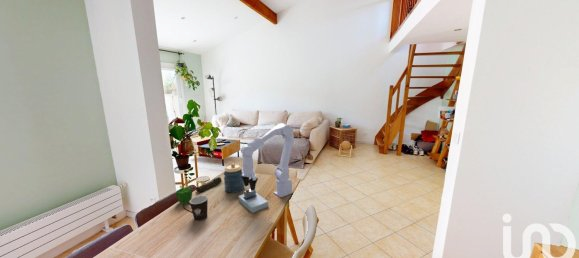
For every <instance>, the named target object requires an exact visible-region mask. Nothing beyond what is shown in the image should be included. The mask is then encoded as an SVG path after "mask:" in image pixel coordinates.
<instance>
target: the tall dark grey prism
mask: <svg viewBox="0 0 579 258" xmlns="http://www.w3.org/2000/svg"><path fill="white" fill-rule="evenodd" d="M256 193H257V192H256V189H255V190H253V191H251V189H250V188H249V189H247V190H244V191H243V194H244V199H245V200H248V199H251V198H254V197H256Z"/></svg>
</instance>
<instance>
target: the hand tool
mask: <svg viewBox="0 0 579 258" xmlns="http://www.w3.org/2000/svg"><path fill="white" fill-rule="evenodd" d="M222 182H223V181H222V178H221V177H219V176H218V177H216V178H215V177H214V178H213V179H212V180H211V181H209V182H206V183H204V184H202V185H200V186H196V187H195V191H196V192H197V193H198V194H199V193H201V192H203V191H205V190H207V189H209V188H211V187H214V186H217V185H219V184H221V183H222Z"/></svg>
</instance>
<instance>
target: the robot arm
mask: <svg viewBox="0 0 579 258" xmlns="http://www.w3.org/2000/svg"><path fill="white" fill-rule="evenodd" d="M293 132H294V129H293V128H292V126H290V125H288V124H285V123H282V122H281V123H278V124H277V125H274V126H273V128H271V129H270V130H268V131H267V132H266V133H265V134H264V135H261V136H260V137H259V136H258V137H257V136H256V137H254V138H253V139H252V140H251V141H250V142H246V143H247V144H244V145H242V146H241V148H240V152H241V155H242V159H241V160H242V169H243V170H242V173H243V174H242V175H240V176H241V177H242V179H243V182H244V185H245V186H244V187H250V188H249V189H251V191H253V190H256V186H257V185H256V184H257V182H258V181H259V178H258V177H257V176H256V173H255V171H254V159H253V155H254V152H255V151H257V150H258V149H260V148H261V147H263V146H264V144H265V142H267V141H270V139H272V138H273V137H275V136H282V137H283V139H284V143H283V148H282V151H281V156H280V161H279V164H277V166H276V168H275V170H274V176H275V177H276V178H275V182H276V183H275V184H276V188H275V189H276V191H273V194H275V195H276V196H277V197H280V198H283V197H286V196H288V195H290V194H293V193H294V192H293V182H292V180H291V178H290V169H289V163H290V159H291V155H292V151H293V150H292V149H293V147H294V141H295V136H294V133H293Z"/></svg>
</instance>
